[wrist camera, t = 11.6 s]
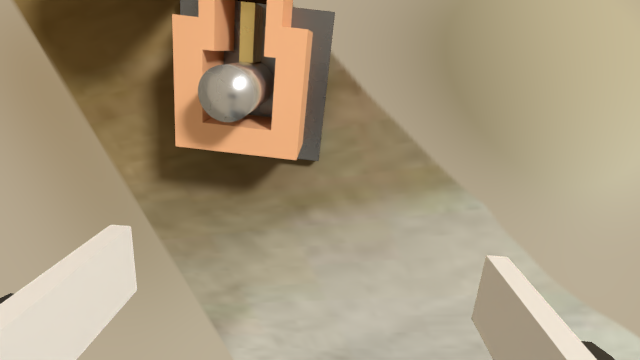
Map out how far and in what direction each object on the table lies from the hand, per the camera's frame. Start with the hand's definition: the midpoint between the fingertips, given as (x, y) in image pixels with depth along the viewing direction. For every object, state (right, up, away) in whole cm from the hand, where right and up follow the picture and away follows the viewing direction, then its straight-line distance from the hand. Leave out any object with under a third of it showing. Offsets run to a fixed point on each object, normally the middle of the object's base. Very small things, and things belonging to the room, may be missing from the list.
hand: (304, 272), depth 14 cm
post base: (-5, +12, +18) cm, 22 cm away
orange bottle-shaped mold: (-5, +13, +16) cm, 21 cm away
